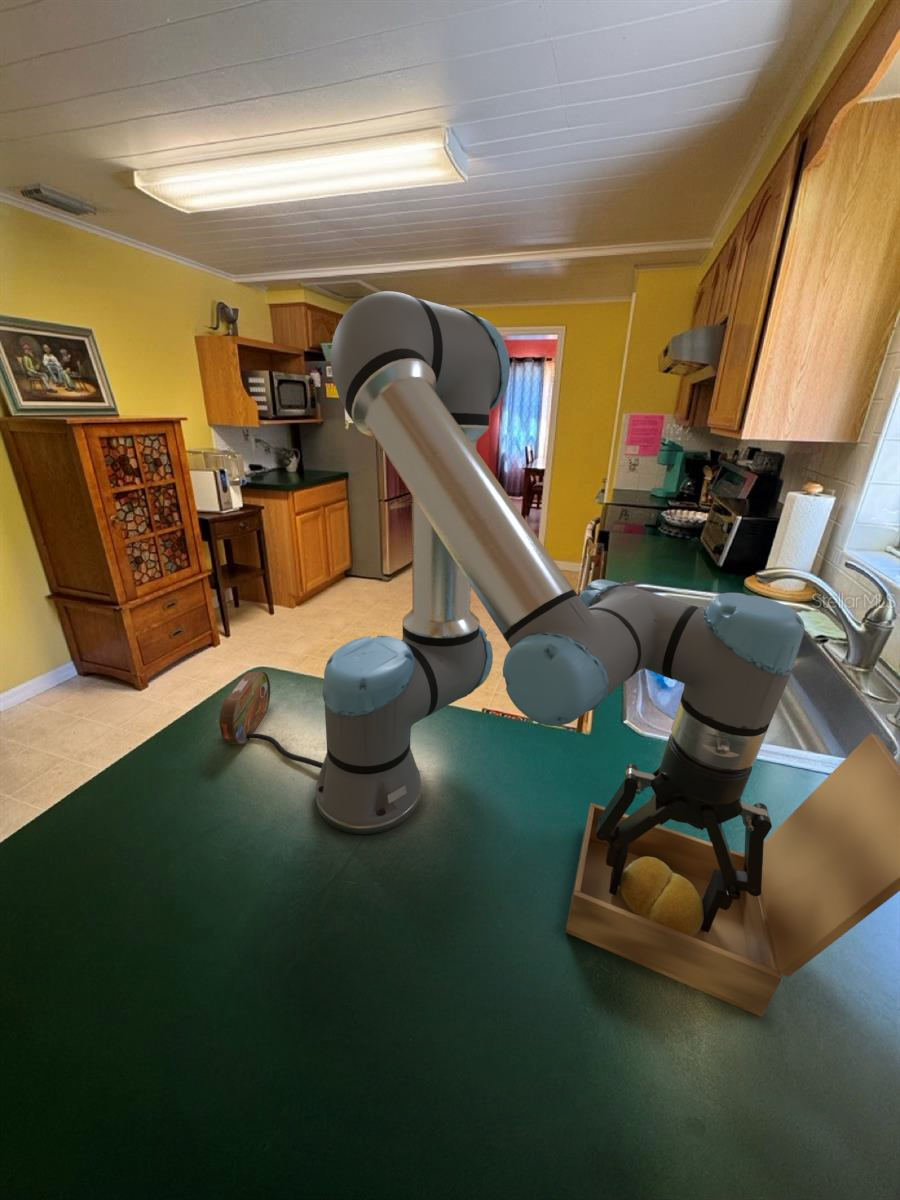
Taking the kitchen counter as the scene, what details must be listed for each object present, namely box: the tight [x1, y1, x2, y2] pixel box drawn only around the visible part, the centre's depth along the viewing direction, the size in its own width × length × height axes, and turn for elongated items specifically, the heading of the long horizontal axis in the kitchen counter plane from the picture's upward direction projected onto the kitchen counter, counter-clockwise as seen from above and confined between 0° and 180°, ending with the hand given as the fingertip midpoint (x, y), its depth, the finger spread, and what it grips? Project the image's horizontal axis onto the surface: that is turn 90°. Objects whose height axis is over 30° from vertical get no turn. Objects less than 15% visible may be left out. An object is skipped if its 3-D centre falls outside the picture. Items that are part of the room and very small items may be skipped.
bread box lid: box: [761, 732, 900, 978], centre depth 45 cm, size 20×14×5 cm
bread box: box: [565, 802, 783, 1018], centre depth 54 cm, size 19×14×6 cm
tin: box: [218, 670, 271, 745], centre depth 81 cm, size 15×3×8 cm, turn 179°
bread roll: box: [619, 856, 704, 937], centre depth 54 cm, size 8×9×4 cm
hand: (657, 901), depth 55 cm, fingers closed on bread roll, 9 cm apart
